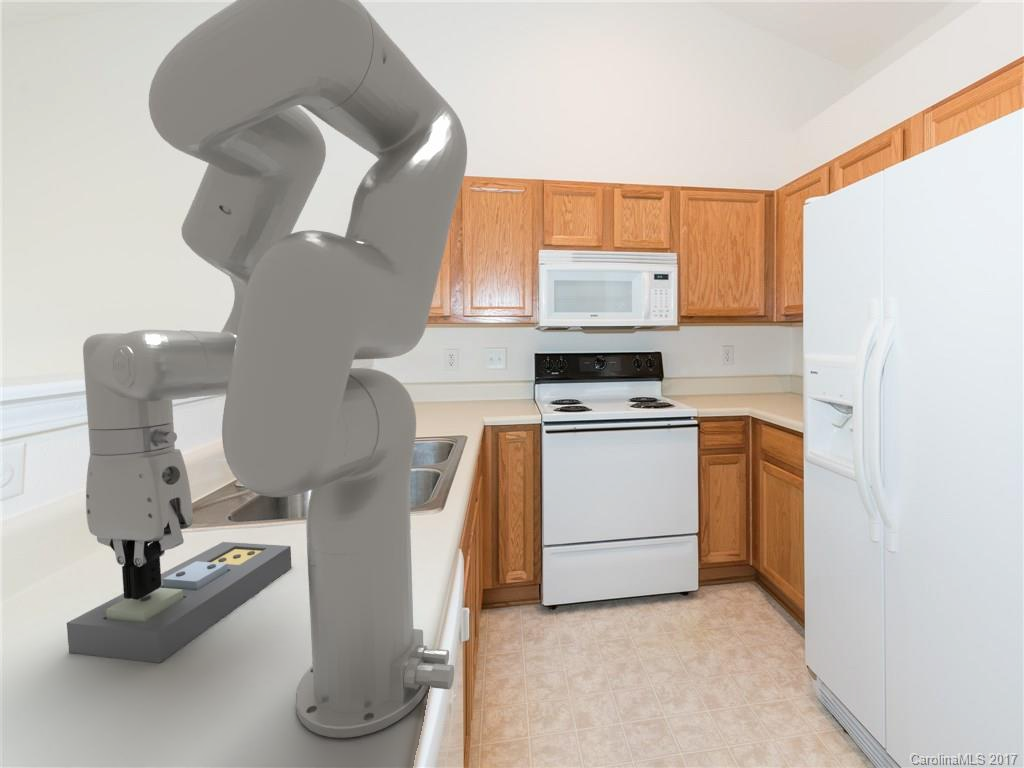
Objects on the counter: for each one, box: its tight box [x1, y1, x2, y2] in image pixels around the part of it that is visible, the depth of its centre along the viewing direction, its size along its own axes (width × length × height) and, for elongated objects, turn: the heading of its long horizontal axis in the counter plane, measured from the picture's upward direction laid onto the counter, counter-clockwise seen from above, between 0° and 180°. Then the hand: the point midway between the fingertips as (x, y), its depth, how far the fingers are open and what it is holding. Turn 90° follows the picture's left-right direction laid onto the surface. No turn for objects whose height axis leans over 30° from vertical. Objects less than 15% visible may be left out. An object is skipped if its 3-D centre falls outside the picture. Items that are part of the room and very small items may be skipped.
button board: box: [66, 541, 293, 664], centre depth 60 cm, size 12×22×4 cm, turn 170°
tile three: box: [213, 549, 261, 565], centre depth 67 cm, size 5×5×2 cm
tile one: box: [106, 588, 183, 623], centre depth 53 cm, size 5×5×2 cm
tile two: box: [163, 561, 228, 590], centre depth 60 cm, size 5×5×2 cm
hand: (143, 592), depth 53 cm, fingers closed
